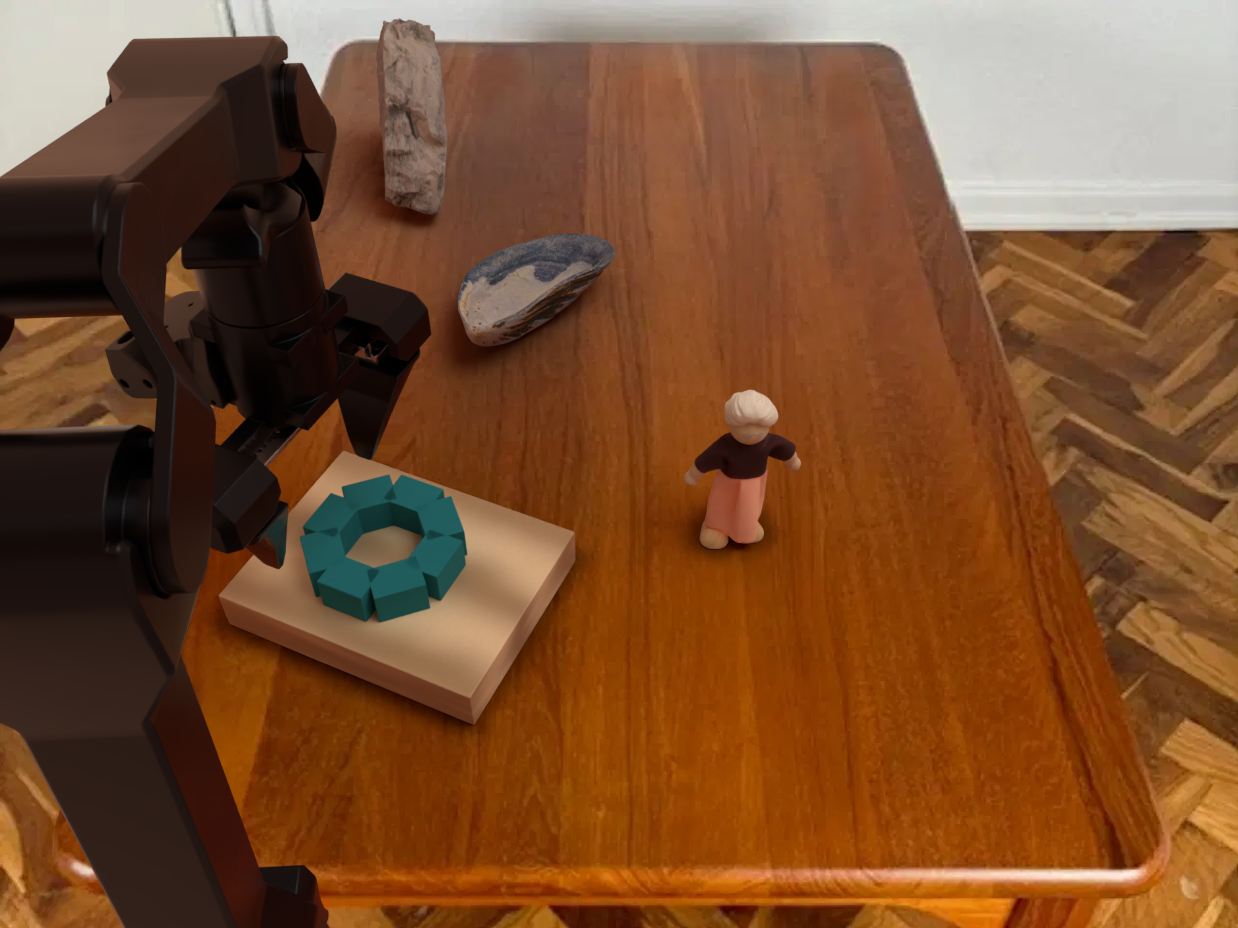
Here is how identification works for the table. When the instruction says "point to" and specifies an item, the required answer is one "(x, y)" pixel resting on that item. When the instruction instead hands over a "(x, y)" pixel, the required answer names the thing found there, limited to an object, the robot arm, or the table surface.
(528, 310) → the seashell
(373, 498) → the ring
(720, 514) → the grandmother figurine
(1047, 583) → the table surface
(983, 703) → the table surface
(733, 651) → the table surface
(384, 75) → the decorative rock
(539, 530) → the board
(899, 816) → the table surface
